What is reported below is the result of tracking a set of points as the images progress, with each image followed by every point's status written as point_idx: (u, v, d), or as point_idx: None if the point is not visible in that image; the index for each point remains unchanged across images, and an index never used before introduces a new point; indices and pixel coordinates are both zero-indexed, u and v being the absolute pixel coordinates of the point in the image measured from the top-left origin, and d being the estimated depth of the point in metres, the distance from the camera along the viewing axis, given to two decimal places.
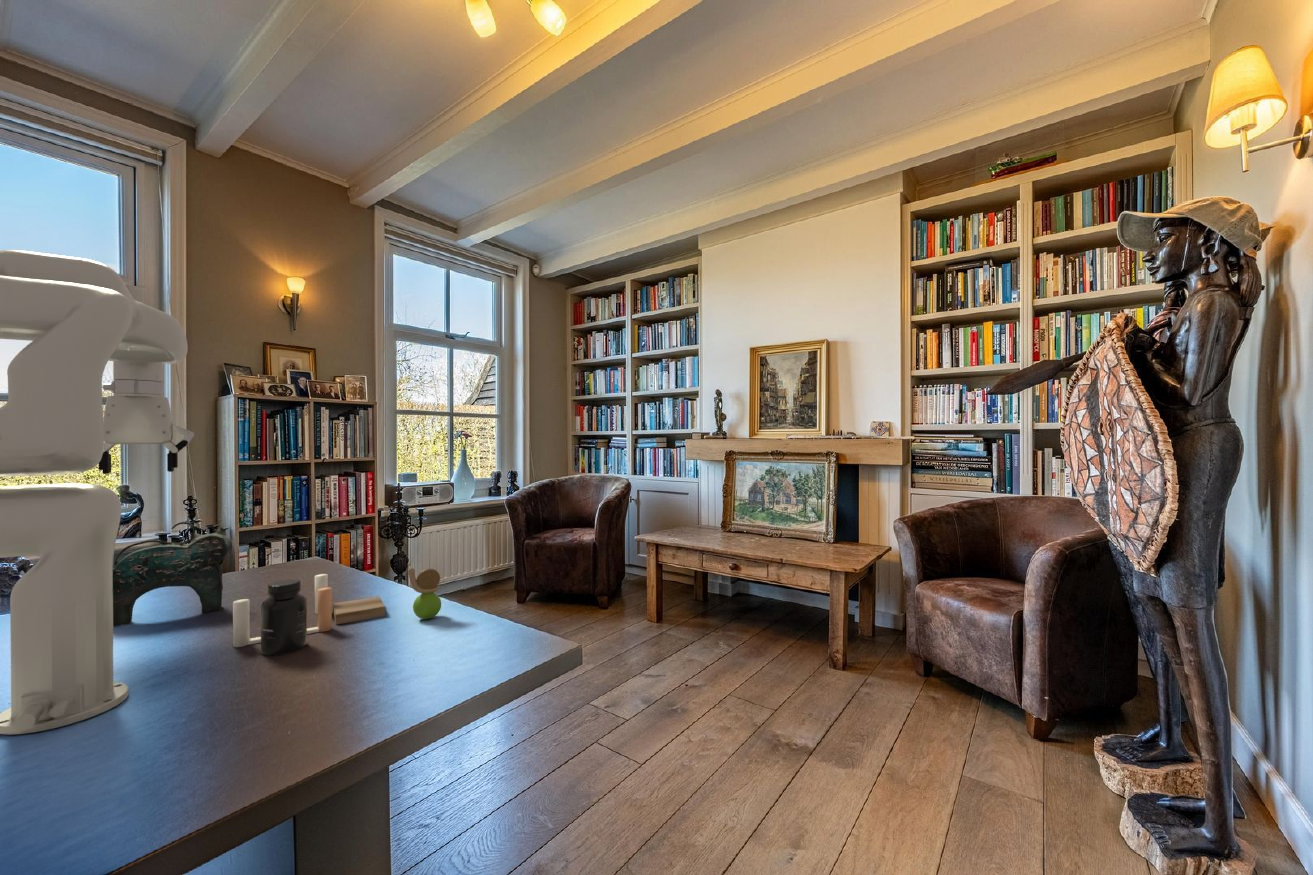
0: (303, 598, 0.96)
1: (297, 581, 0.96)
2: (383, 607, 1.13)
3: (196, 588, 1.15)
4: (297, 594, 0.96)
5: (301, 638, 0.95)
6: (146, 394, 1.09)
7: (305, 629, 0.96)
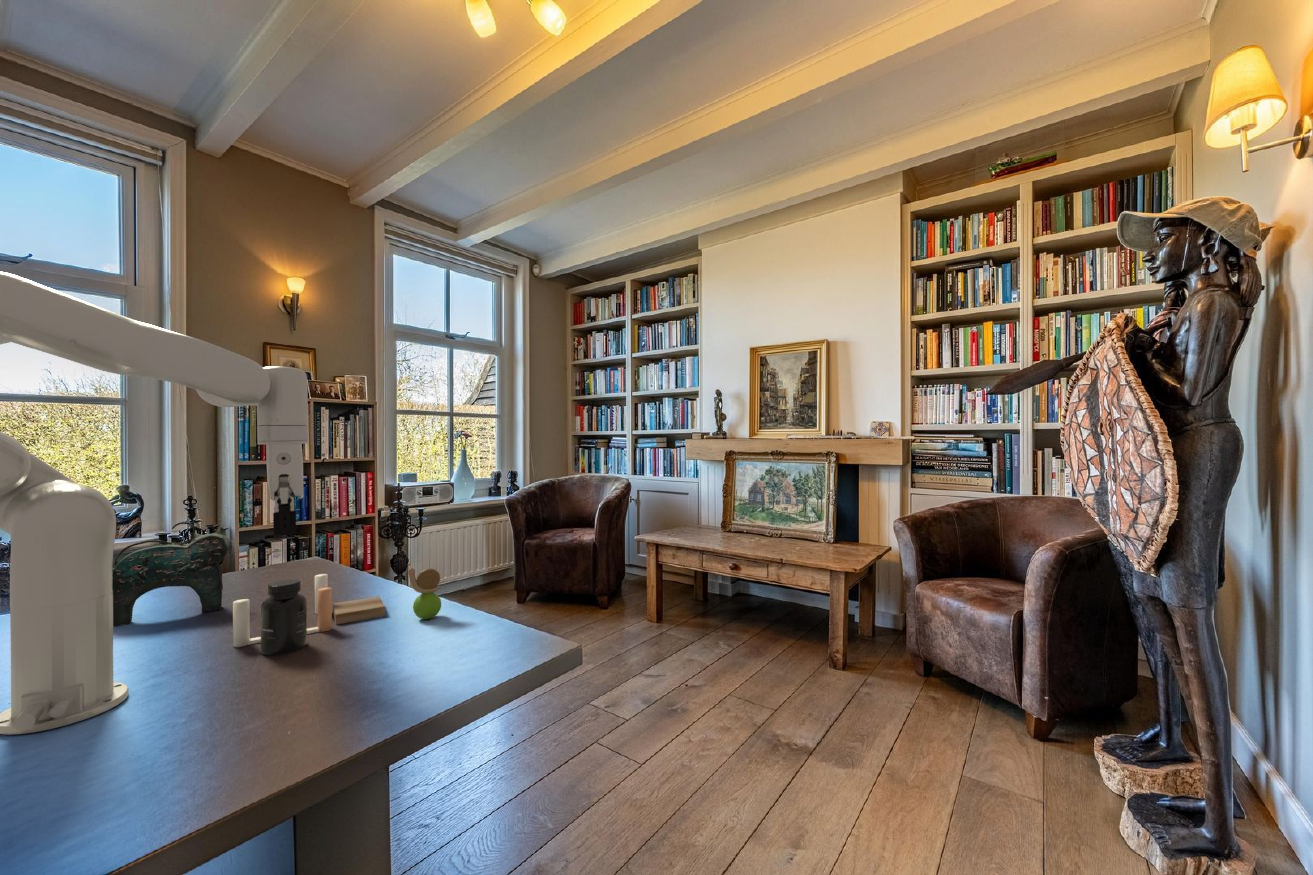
0: (303, 598, 0.96)
1: (297, 581, 0.96)
2: (383, 607, 1.13)
3: (196, 588, 1.15)
4: (297, 594, 0.96)
5: (301, 638, 0.95)
6: None
7: (305, 629, 0.96)
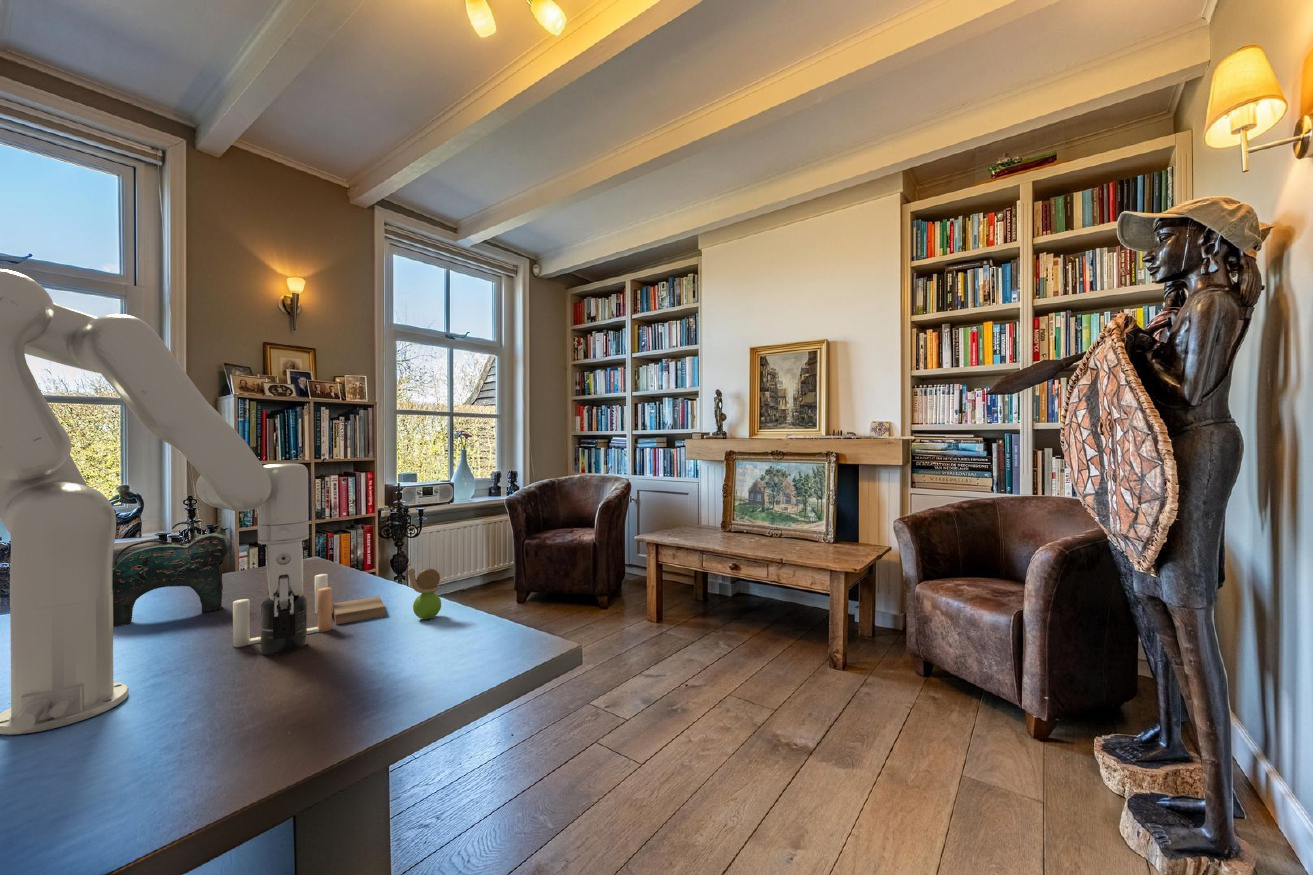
0: (303, 598, 0.96)
1: None
2: (383, 607, 1.13)
3: (196, 588, 1.15)
4: None
5: (301, 638, 0.95)
6: None
7: (305, 629, 0.96)
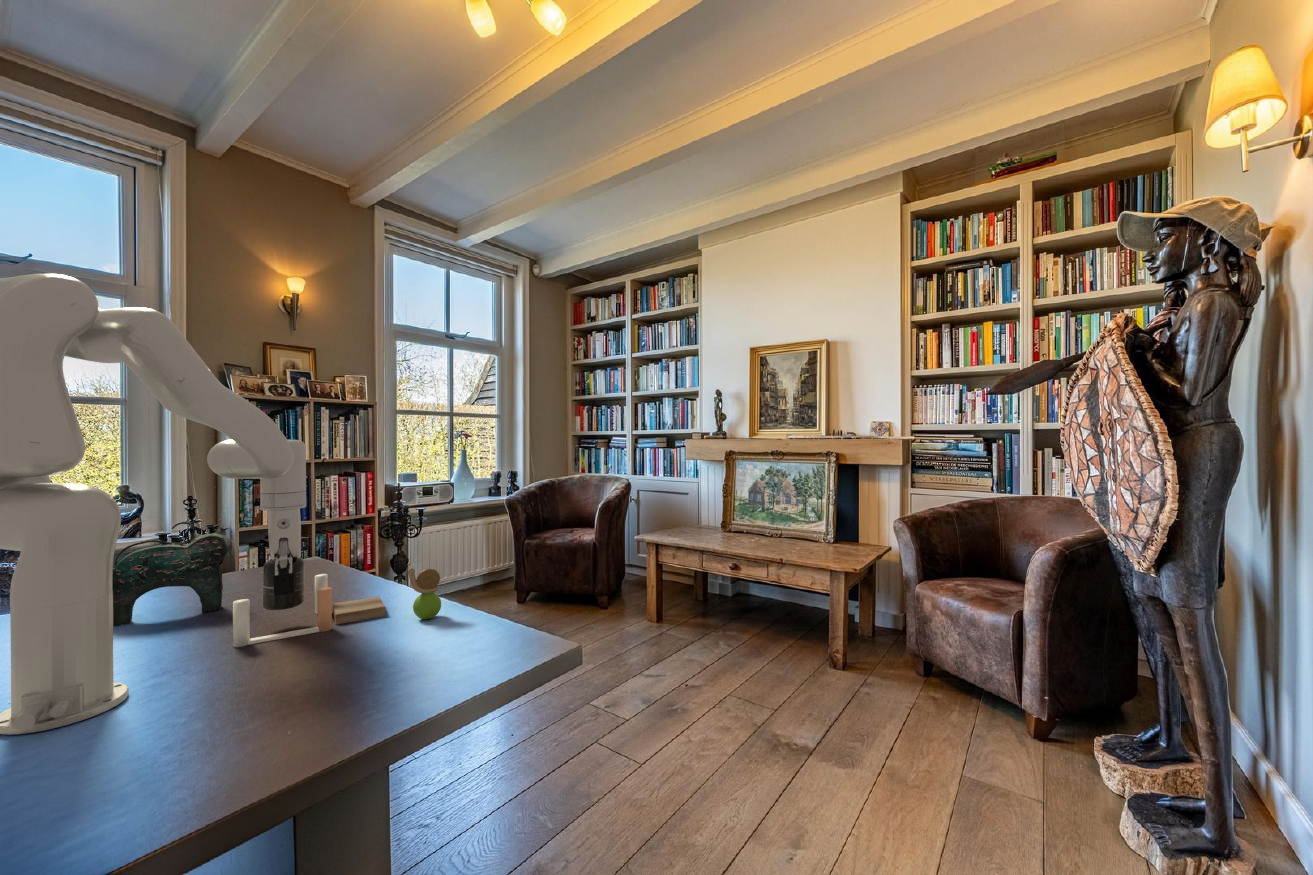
0: (301, 560, 1.07)
1: None
2: (383, 607, 1.13)
3: (196, 588, 1.15)
4: (296, 556, 1.07)
5: (299, 596, 1.06)
6: None
7: (303, 588, 1.07)
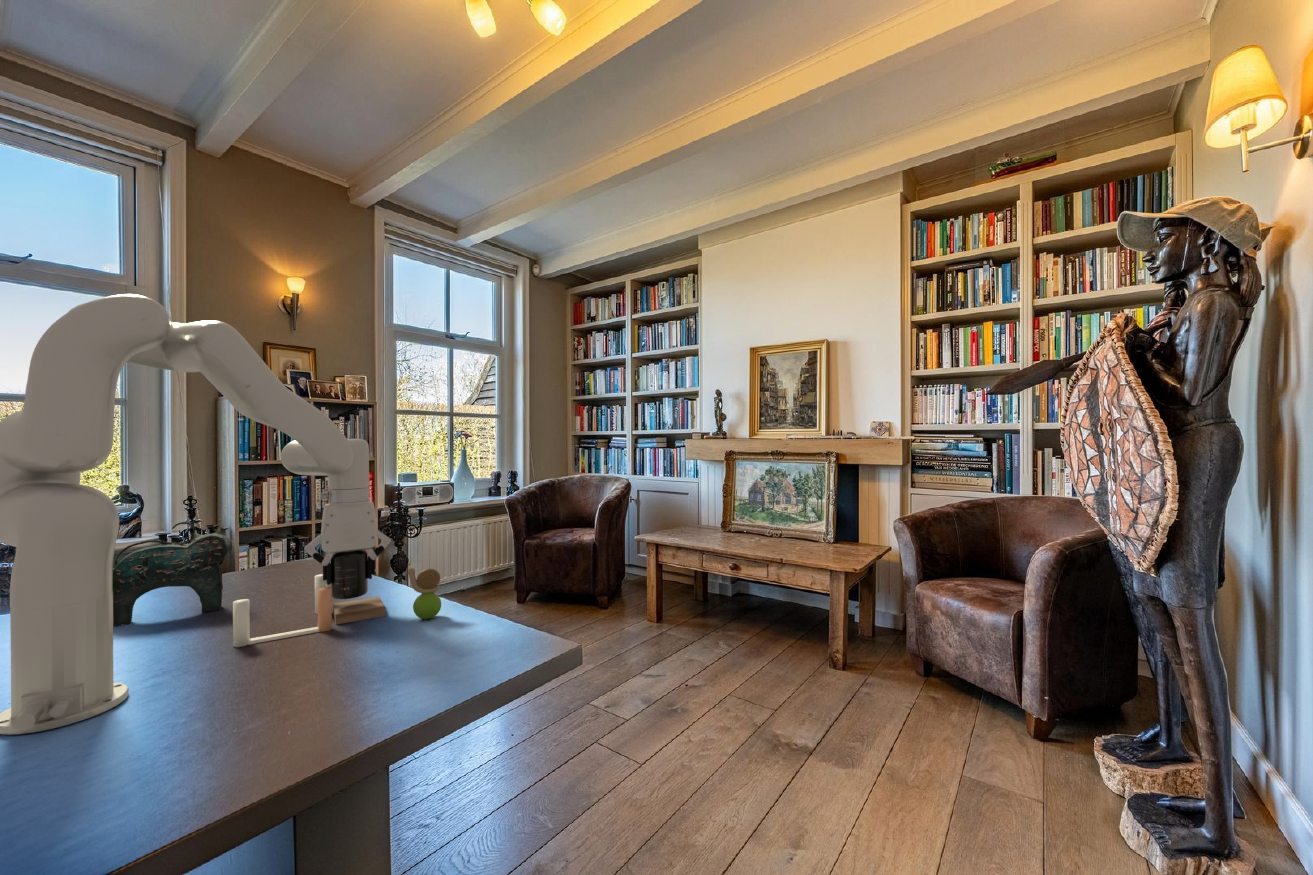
0: (344, 556, 1.10)
1: None
2: (383, 607, 1.13)
3: (196, 588, 1.15)
4: None
5: (338, 590, 1.10)
6: (359, 502, 1.11)
7: (344, 584, 1.10)
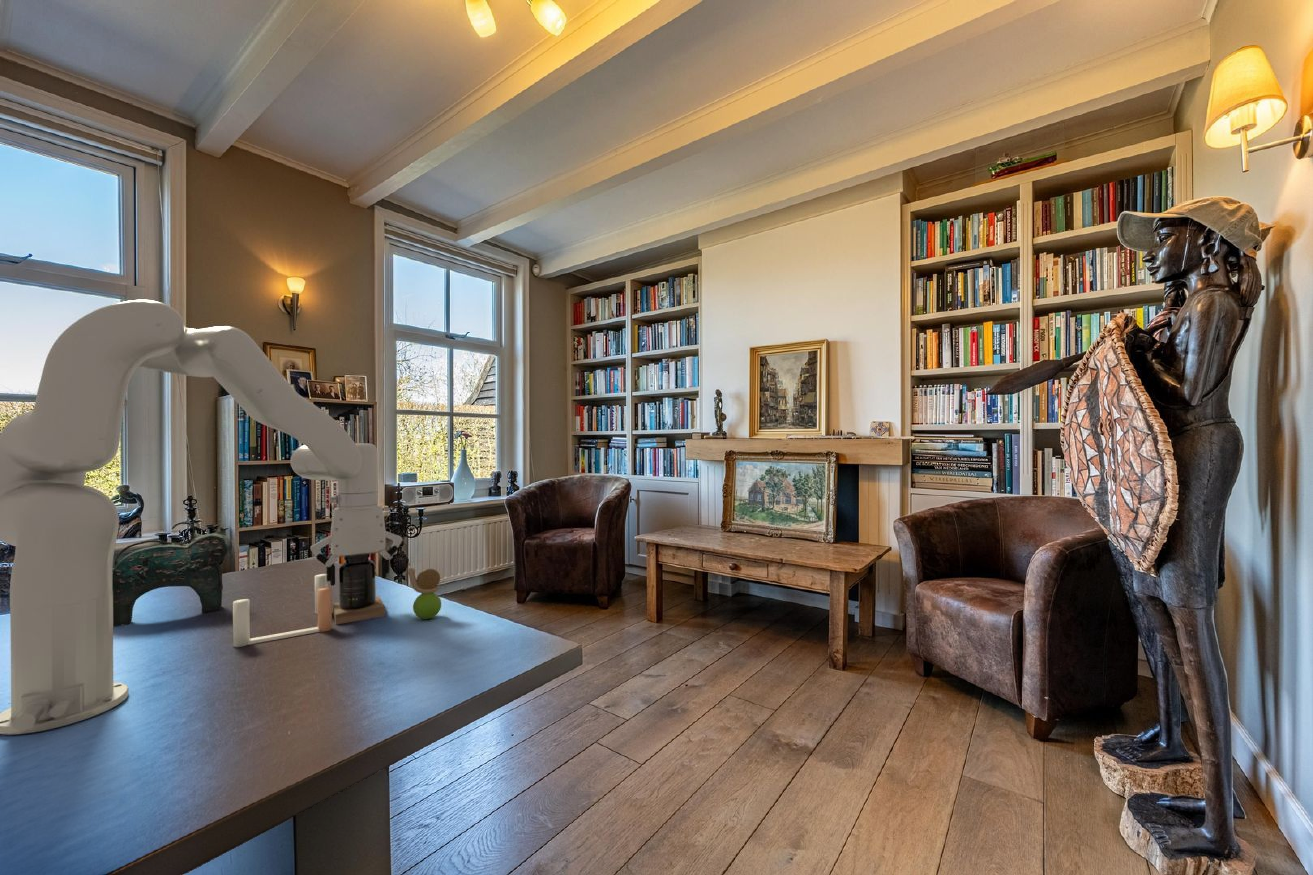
0: (352, 567, 1.11)
1: None
2: (383, 607, 1.13)
3: (196, 588, 1.15)
4: (352, 562, 1.12)
5: (347, 601, 1.10)
6: (368, 506, 1.12)
7: (353, 595, 1.11)
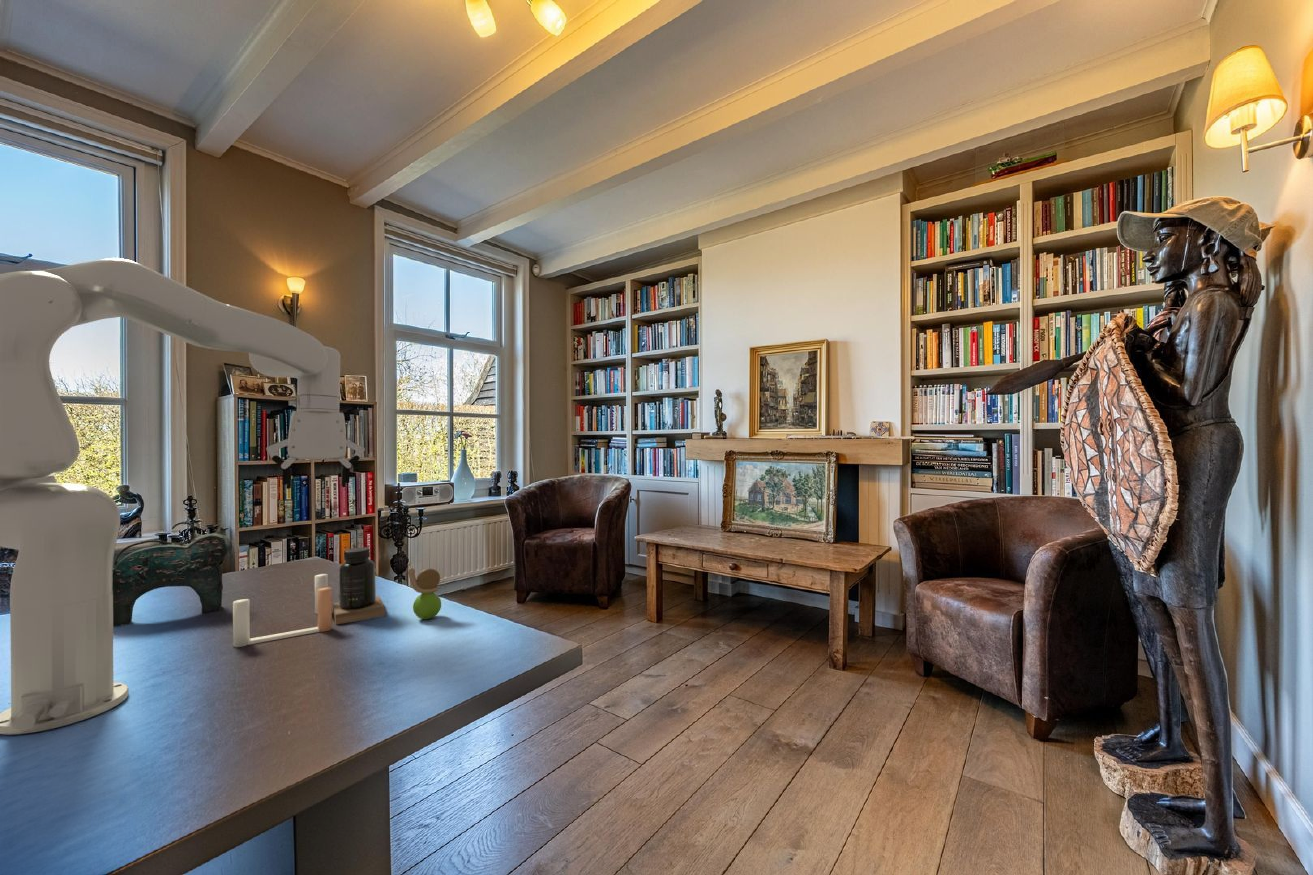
0: (352, 567, 1.11)
1: (355, 551, 1.12)
2: (383, 607, 1.13)
3: (196, 588, 1.15)
4: (352, 562, 1.12)
5: (347, 601, 1.10)
6: (327, 409, 1.09)
7: (353, 595, 1.11)
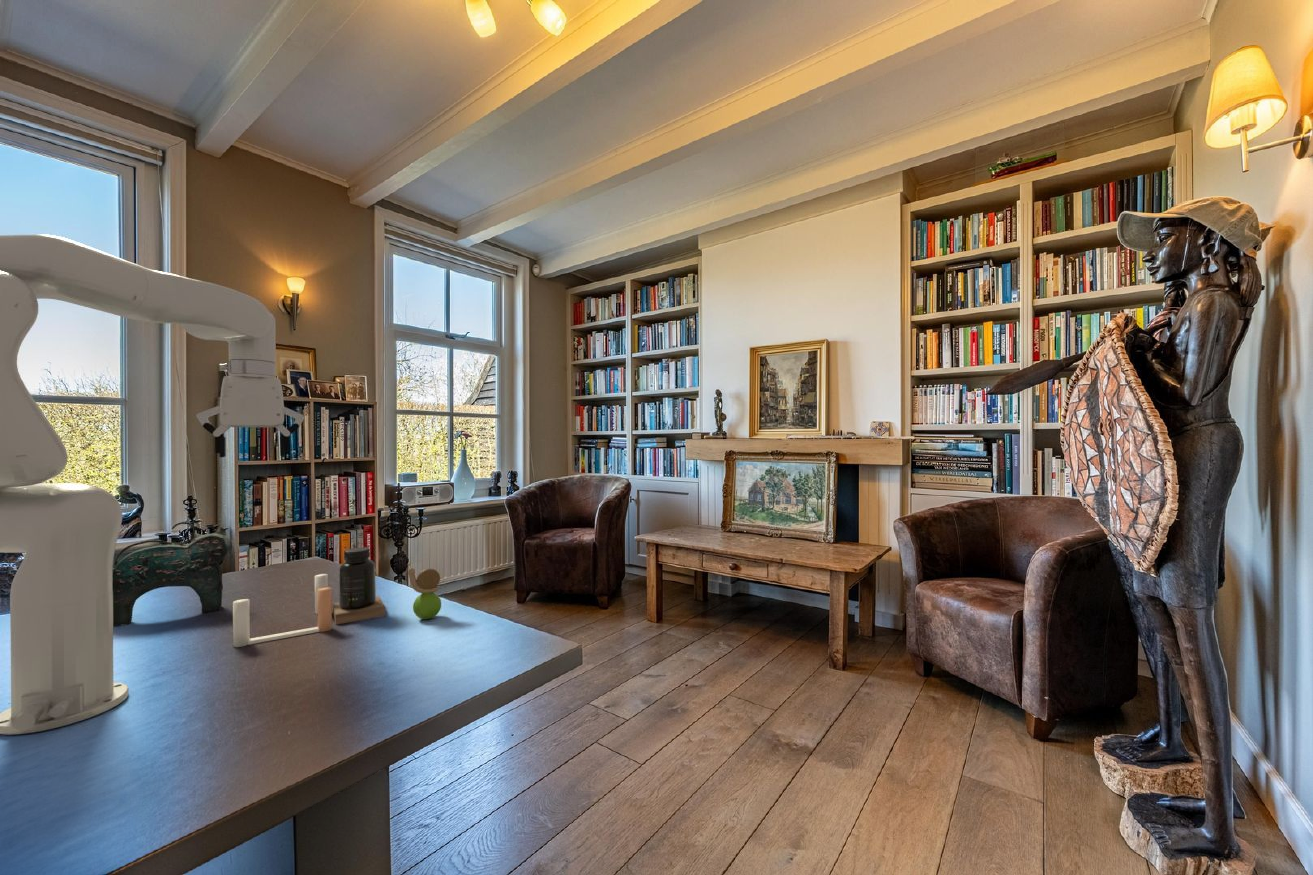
0: (352, 567, 1.11)
1: (355, 551, 1.12)
2: (383, 607, 1.13)
3: (196, 588, 1.15)
4: (352, 562, 1.12)
5: (347, 601, 1.10)
6: (261, 375, 1.05)
7: (353, 595, 1.11)
